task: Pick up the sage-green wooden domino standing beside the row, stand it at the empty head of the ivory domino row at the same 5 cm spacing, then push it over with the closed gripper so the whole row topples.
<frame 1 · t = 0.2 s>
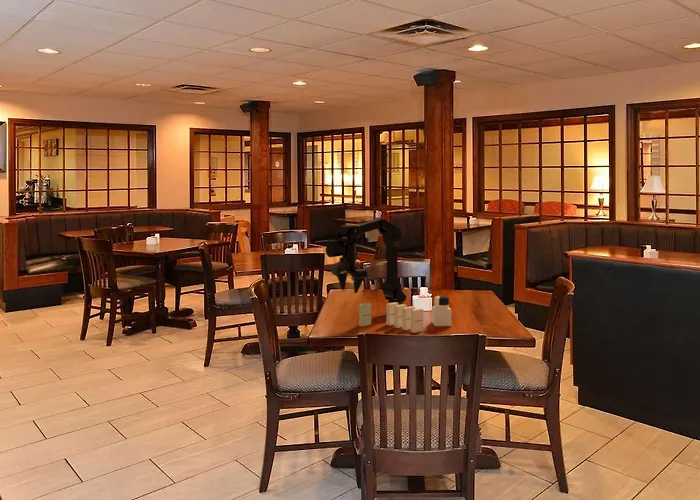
hand: (349, 291, 263), 14 cm above the table, fingers open, 9 cm apart
domino 4: (408, 328, 255), on the table
sage domino: (365, 325, 262), on the table
domino 2: (392, 324, 263), on the table
medicine bottle: (441, 324, 263), on the table
domino 3: (400, 326, 259), on the table
domino 5: (416, 331, 251), on the table
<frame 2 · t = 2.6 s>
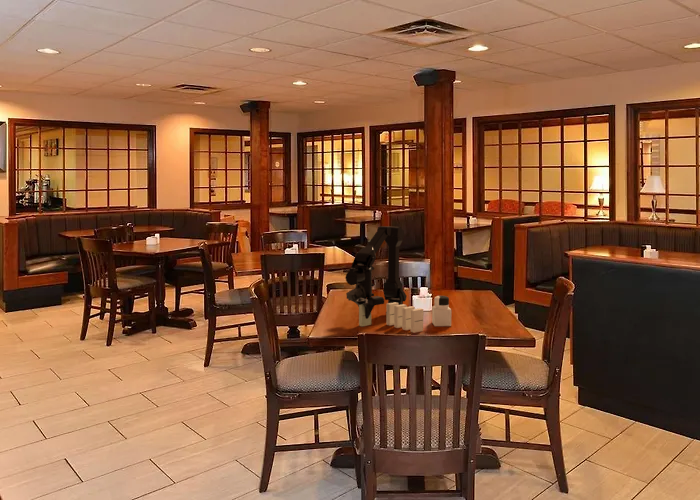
hand: (365, 318, 262), 3 cm above the table, fingers closed on sage domino, 2 cm apart
sage domino: (365, 325, 262), on the table, touching gripper
everything else where it was.
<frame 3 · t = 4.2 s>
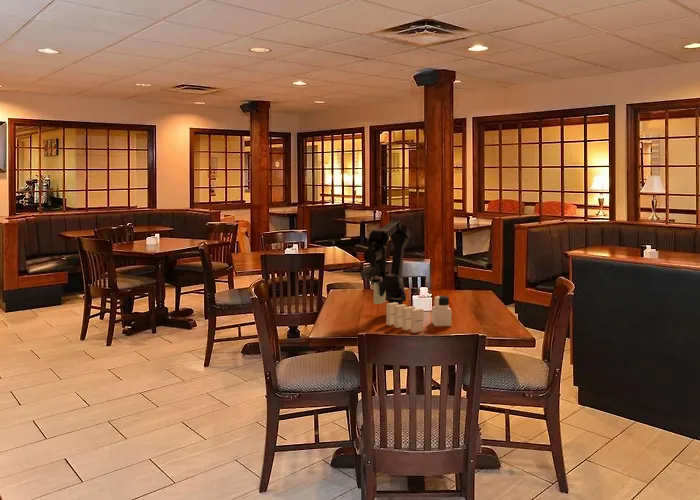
hand: (379, 295, 265), 12 cm above the table, fingers closed on sage domino
sage domino: (379, 302, 265), point 9 cm above the table, touching gripper
everything else where it was.
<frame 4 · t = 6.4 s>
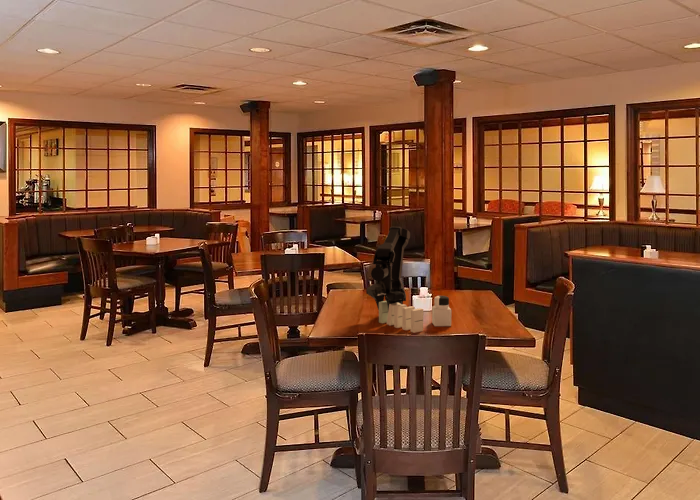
hand: (384, 312, 267), 4 cm above the table, fingers open, 6 cm apart
sage domino: (384, 322, 267), on the table
domino 2: (392, 323, 263), on the table, tilted 12°
everything else where it was.
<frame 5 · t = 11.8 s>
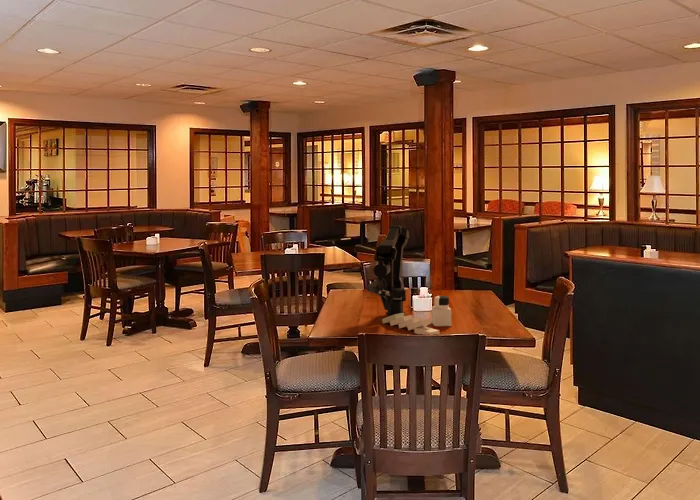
hand: (386, 309, 266), 5 cm above the table, fingers closed
domino 4: (412, 327, 254), point 1 cm above the table, tilted 64°, touching domino 3, domino 5
sage domino: (386, 320, 266), point 1 cm above the table, tilted 67°, touching domino 2
domino 2: (394, 322, 262), point 1 cm above the table, tilted 67°, touching domino 3, sage domino
domino 3: (403, 325, 258), point 1 cm above the table, tilted 65°, touching domino 2, domino 4
domino 5: (418, 329, 250), point 1 cm above the table, tilted 89°, touching domino 4
everything else where it was.
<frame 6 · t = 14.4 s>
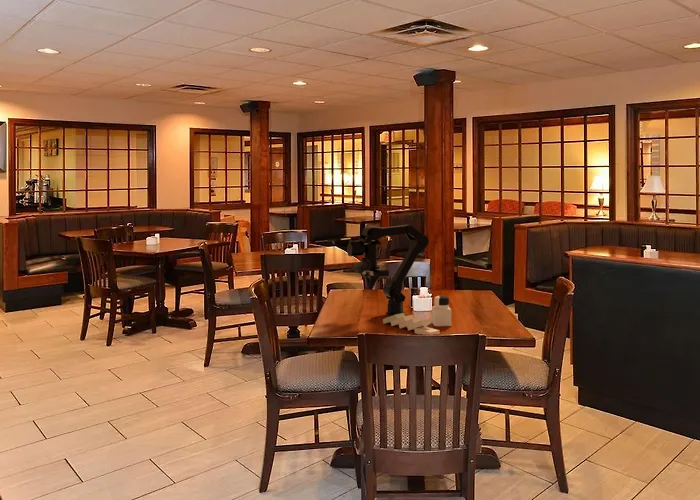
hand: (370, 289, 276), 12 cm above the table, fingers closed
sage domino: (387, 320, 266), point 1 cm above the table, tilted 67°, touching domino 2
at the end: sage domino inside the target area (0.7 cm from its centre), point 0.8 cm above the table; sage domino tilted 67°; domino 5 tilted 89° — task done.
